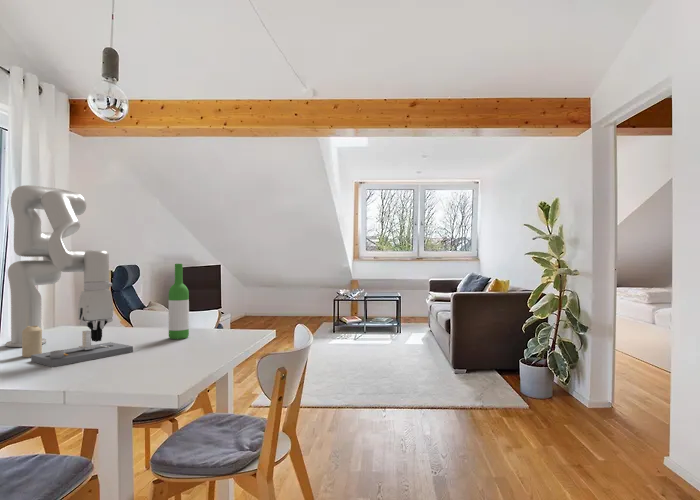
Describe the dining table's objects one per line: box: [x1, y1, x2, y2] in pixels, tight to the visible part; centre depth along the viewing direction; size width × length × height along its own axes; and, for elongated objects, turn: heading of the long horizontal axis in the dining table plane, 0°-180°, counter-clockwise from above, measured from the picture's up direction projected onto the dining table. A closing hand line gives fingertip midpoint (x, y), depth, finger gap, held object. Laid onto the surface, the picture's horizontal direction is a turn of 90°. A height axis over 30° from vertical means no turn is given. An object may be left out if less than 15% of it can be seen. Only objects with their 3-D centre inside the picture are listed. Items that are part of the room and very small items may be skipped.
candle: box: [21, 326, 43, 358], centre depth 160 cm, size 6×6×10 cm
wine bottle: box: [168, 263, 190, 340], centre depth 193 cm, size 8×8×30 cm
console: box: [30, 341, 134, 368], centre depth 159 cm, size 14×26×4 cm, turn 146°
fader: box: [78, 330, 95, 350], centre depth 159 cm, size 4×3×6 cm
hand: (96, 340), depth 162 cm, fingers closed
